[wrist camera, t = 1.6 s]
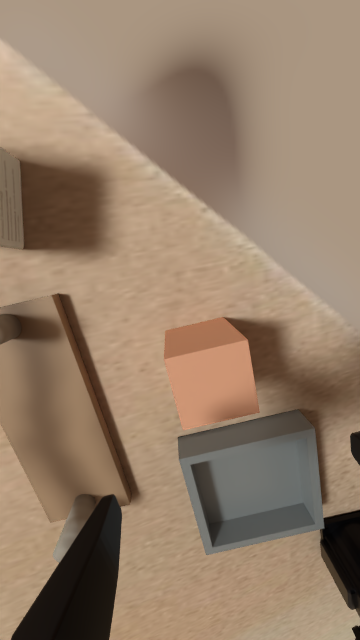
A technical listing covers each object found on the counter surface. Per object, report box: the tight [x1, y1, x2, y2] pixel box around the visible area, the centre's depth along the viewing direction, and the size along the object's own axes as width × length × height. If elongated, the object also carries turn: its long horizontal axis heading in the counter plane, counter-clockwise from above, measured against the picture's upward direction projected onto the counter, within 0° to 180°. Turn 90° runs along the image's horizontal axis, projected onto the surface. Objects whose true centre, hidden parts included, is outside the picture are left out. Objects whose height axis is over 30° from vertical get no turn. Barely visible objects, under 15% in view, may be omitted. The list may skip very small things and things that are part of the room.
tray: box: [178, 410, 324, 555], centre depth 21 cm, size 12×12×2 cm
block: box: [164, 317, 260, 430], centre depth 16 cm, size 5×5×6 cm
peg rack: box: [0, 294, 132, 563], centre depth 18 cm, size 8×21×5 cm, turn 13°
